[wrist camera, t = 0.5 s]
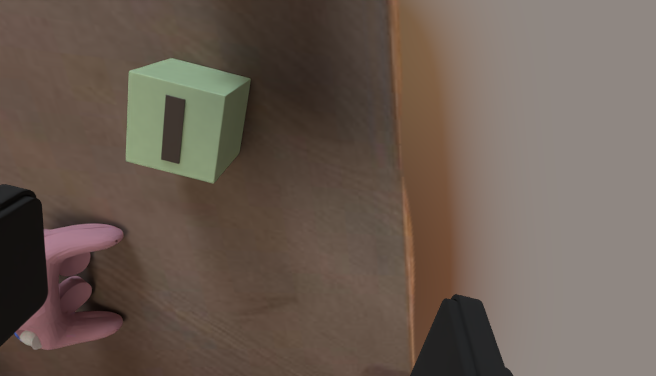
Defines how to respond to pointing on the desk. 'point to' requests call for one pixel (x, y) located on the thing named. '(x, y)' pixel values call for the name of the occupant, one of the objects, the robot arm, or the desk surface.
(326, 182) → the desk surface
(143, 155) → the letter tile i
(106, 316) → the video game controller
